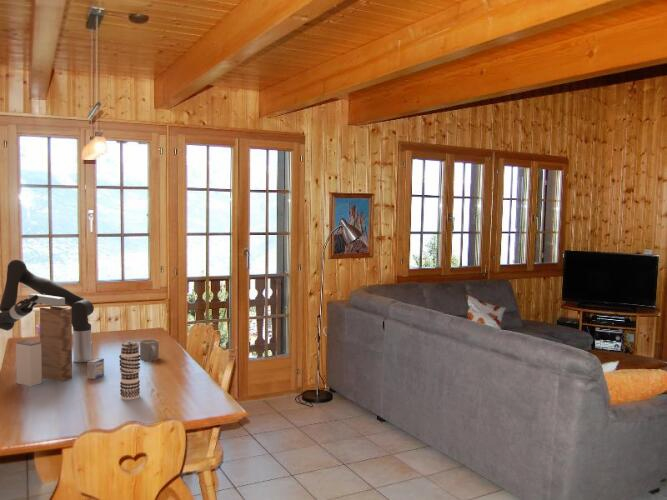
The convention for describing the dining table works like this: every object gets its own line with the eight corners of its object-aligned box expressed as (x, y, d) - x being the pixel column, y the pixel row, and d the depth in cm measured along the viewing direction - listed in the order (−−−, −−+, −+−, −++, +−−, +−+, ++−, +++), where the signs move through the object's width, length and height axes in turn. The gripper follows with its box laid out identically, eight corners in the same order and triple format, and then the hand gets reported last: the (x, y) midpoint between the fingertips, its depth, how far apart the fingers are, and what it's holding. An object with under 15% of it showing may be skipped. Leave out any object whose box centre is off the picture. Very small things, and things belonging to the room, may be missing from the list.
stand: (52, 373, 307) (51, 305, 304) (72, 378, 301) (71, 308, 298) (40, 377, 301) (39, 307, 298) (60, 381, 295) (59, 310, 292)
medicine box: (95, 379, 300) (95, 362, 299) (87, 378, 301) (86, 361, 300) (104, 375, 308) (104, 358, 307) (96, 374, 309) (96, 357, 308)
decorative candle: (128, 401, 269) (128, 345, 267) (114, 397, 274) (114, 342, 272) (144, 395, 277) (145, 342, 275) (131, 392, 282) (131, 339, 280)
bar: (35, 300, 307) (35, 293, 307) (64, 305, 298) (64, 297, 297) (29, 301, 304) (29, 294, 304) (58, 306, 294) (58, 298, 294)
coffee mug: (138, 357, 344) (138, 339, 343) (157, 355, 348) (157, 338, 347) (142, 363, 331) (142, 345, 331) (160, 361, 336) (160, 343, 335)
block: (27, 379, 296) (27, 339, 295) (41, 383, 292) (41, 342, 290) (16, 383, 291) (15, 342, 289) (30, 386, 287) (30, 344, 285)
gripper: (5, 304, 304) (25, 290, 297) (30, 301, 317) (50, 287, 309) (10, 318, 303) (30, 304, 296) (35, 314, 315) (55, 300, 308)
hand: (40, 296), depth 302 cm, fingers closed on bar, 3 cm apart
